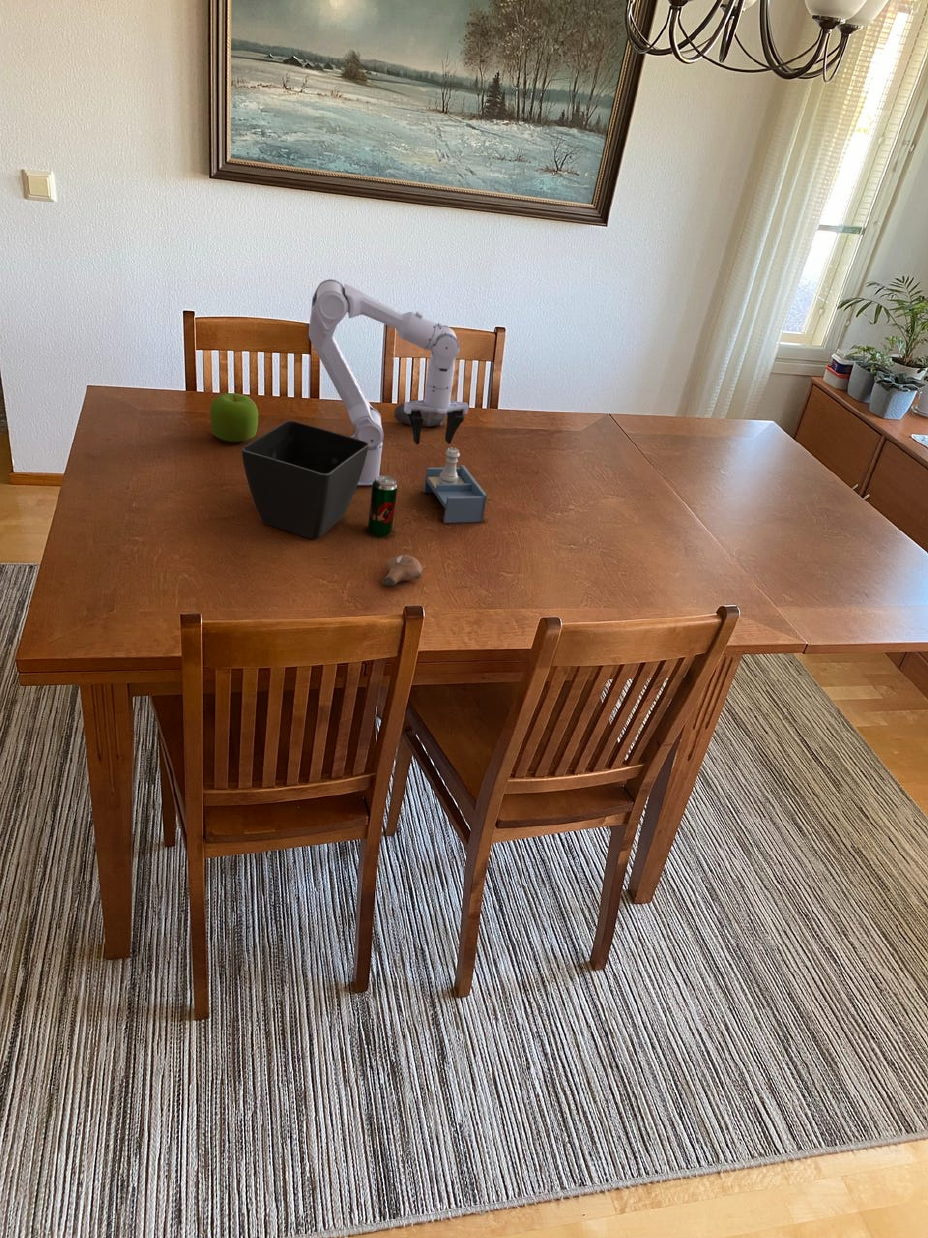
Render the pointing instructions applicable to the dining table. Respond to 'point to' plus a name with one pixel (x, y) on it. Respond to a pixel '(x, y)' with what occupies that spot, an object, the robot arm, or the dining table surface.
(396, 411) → the perforated stone tool
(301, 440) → the flower pot
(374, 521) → the soda can
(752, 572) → the dining table surface
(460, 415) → the robot arm
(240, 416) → the apple
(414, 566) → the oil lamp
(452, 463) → the rook chess piece
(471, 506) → the blue open tray
